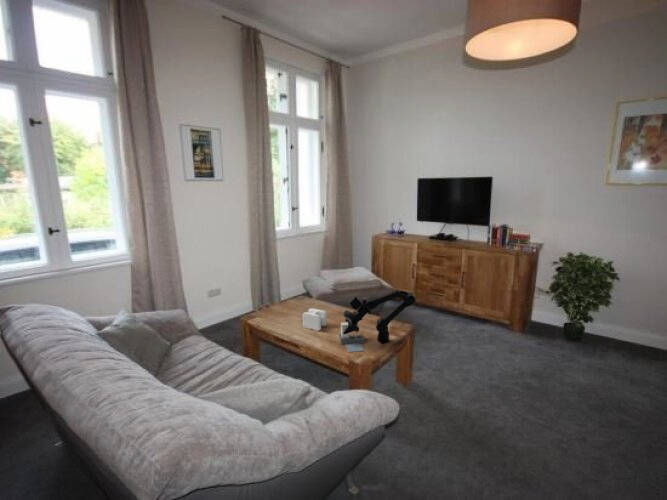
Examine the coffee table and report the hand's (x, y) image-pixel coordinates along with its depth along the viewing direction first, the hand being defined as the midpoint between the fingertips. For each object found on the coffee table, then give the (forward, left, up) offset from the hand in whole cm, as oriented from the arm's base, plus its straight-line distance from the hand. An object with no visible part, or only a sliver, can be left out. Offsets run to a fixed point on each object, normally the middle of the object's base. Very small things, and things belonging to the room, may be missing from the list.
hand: (342, 331), depth 225 cm
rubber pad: (-4, +10, -7) cm, 13 cm away
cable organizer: (+9, -29, -7) cm, 31 cm away
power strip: (-6, +1, -7) cm, 9 cm away
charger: (-1, 0, -5) cm, 5 cm away
